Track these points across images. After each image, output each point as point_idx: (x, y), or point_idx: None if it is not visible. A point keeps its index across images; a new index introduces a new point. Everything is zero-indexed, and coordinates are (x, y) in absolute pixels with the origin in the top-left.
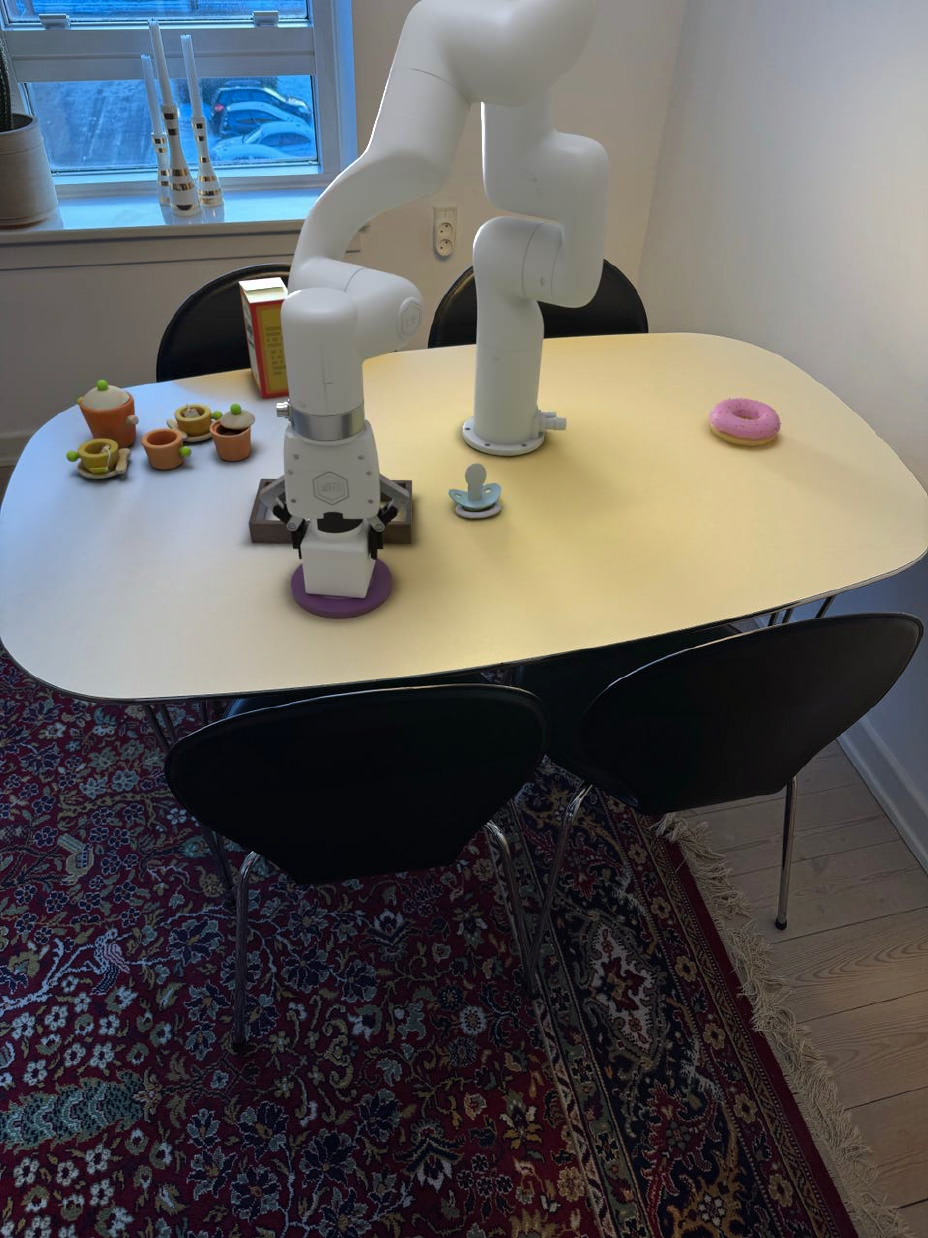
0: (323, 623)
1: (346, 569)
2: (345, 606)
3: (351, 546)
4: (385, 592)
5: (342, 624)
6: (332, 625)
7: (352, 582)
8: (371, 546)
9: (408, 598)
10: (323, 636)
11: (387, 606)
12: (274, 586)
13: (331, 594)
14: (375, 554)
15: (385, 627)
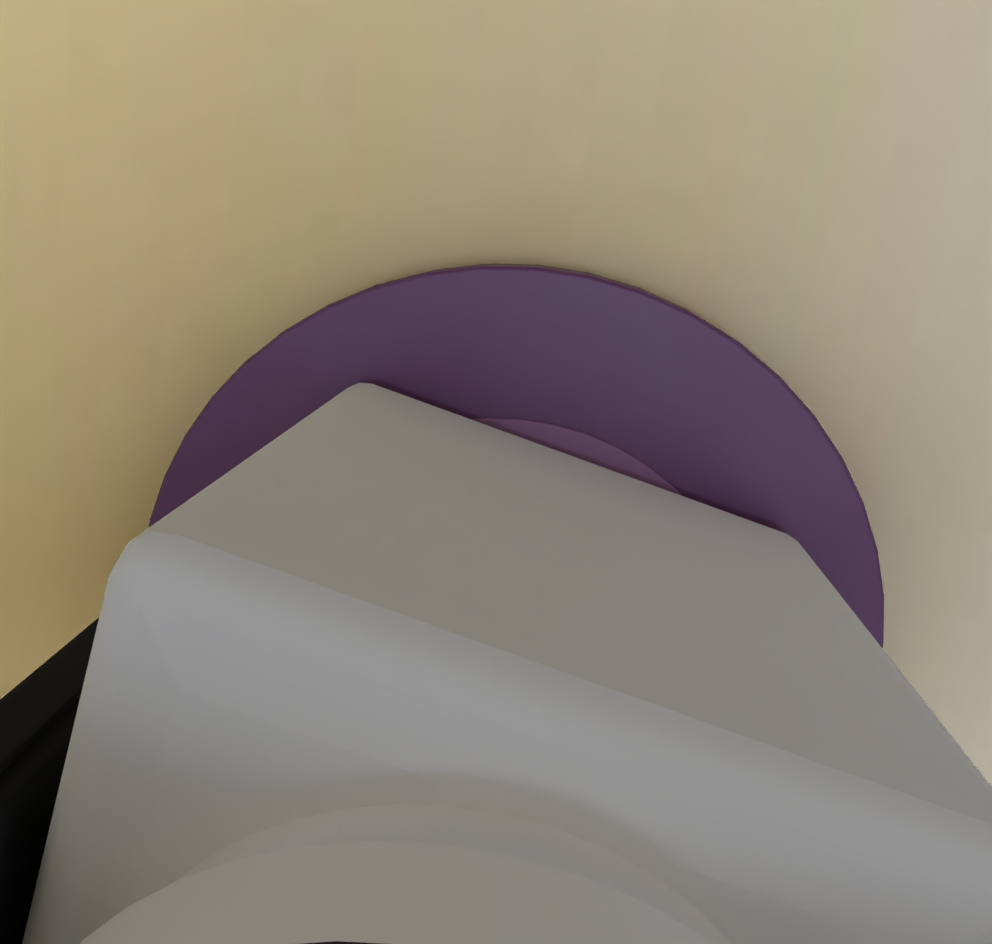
0: (706, 240)
1: (441, 504)
2: (518, 333)
3: (270, 669)
4: (195, 430)
5: (567, 197)
6: (643, 202)
7: (416, 442)
8: (65, 725)
9: (63, 389)
10: (736, 80)
11: (216, 334)
12: (963, 719)
13: (608, 470)
14: (83, 646)
15: (252, 89)
